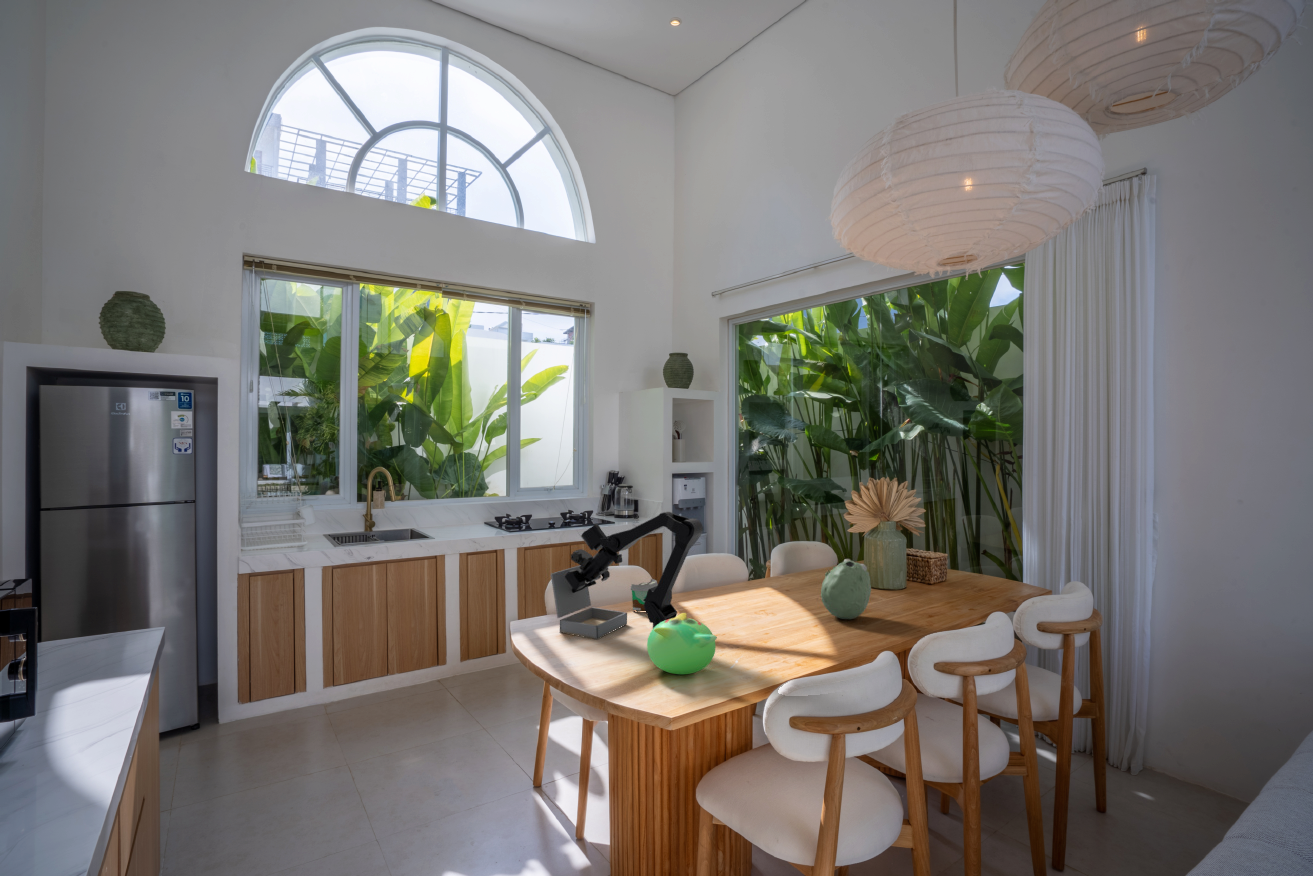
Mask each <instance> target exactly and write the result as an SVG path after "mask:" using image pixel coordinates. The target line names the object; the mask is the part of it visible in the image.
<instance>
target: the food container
mask: <svg viewBox="0 0 1313 876" xmlns="http://www.w3.org/2000/svg"><path fill="white" fill-rule="evenodd" d="M657 581H658V580H656V579H654V578H653V579H652V578H650V581H648V582H641V583H639V584H632V583H631V586H630V591H631V599H632V601H631V602H632V611H633V610H636V611H645V608H644V603H645V601H643V600H644V599H645V598H646V596H647V592H648V590H649V589H650V588H653V587H655V586H657V585H658V583H659V582H657Z"/></svg>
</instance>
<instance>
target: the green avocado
mask: <svg viewBox="0 0 1313 876" xmlns="http://www.w3.org/2000/svg"><path fill="white" fill-rule="evenodd" d="M871 593H872V586H871V577H870V572H869V571H868V566H867V565H866V564H864V563H860V562H855V561H854V560H852V559H850V558H845V559H844V560H843V561H841V562H840V563H839V564H838V565H836V566H833V568H832V569H831V570H829V569H827V571H826V572H825V574H824V579H823V581H822V583H821V591H820V599H821V603H822V604H823V606H824V607H825V609H826V610H827V611H828V612H829V614H831V615H832V616H833V617H835V618H838V619H841V620H852V619H855V618H857V617H859V616H861V615H862V614H863V613H864V611H866V609H867V607H868V605H869V602H870V597H871Z"/></svg>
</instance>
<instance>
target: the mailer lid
mask: <svg viewBox="0 0 1313 876" xmlns="http://www.w3.org/2000/svg"><path fill="white" fill-rule="evenodd" d="M580 566H581V565H577V566H576V565H575V566H573V567H570V568H567V569H566V568H565V569H562V570H559V571H556V572H552V573H550V578H551V579H550V580H551V585H552V591H553V596H554V597H553V598H554V604H555V611H556V616H557V619H560V618H562V617H565V616H568V615H570V614H573V613H576V612H578V611H580V610H583V609H587V608H588V607H590V606H592V603H591V602H592V601H591V596H590V592H589V590H590V589H589V587H587V588H585V589H582V590H580V591H577V592H575V593H573V592H572V586H571V585H570V584H569V582H568V581H567V579H566V578H565V574H566V573H567V572H568V571H571V570H578V571H579V572H581V571H583V570H581V569H580V568H579V567H580Z"/></svg>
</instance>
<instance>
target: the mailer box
mask: <svg viewBox="0 0 1313 876" xmlns="http://www.w3.org/2000/svg"><path fill="white" fill-rule="evenodd" d="M625 624H627V625H628V612H624V611H620V610H611V609H606V608H600V607H594V606H593V607H589V608H585V609H584V610H582V611H579V612H577V613H576V612H575V613H574V614H572V615H569V616H566V617H564V618H562V619H559V633H560V632H563V633H562V634H564V633H568V634H567V635H570V634H574V635H573V636H575V635H579V636H578V637H580V636H584V637H583V638H586V637H587V638H586V639H591V638H592V640H599V639H601V638H603V637H604V636H603V635H605V634H607V633H609V632H611V631H613V630H615V629H617V628H619V627H621V626H623V625H625ZM621 628H622V627H621ZM619 629H620V628H619ZM617 630H618V629H617ZM615 631H616V630H615ZM613 632H614V631H613ZM611 633H612V632H611ZM609 634H610V633H609ZM607 635H608V634H607ZM602 636H603V637H602ZM605 636H606V635H605ZM600 637H601V638H600Z"/></svg>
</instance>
